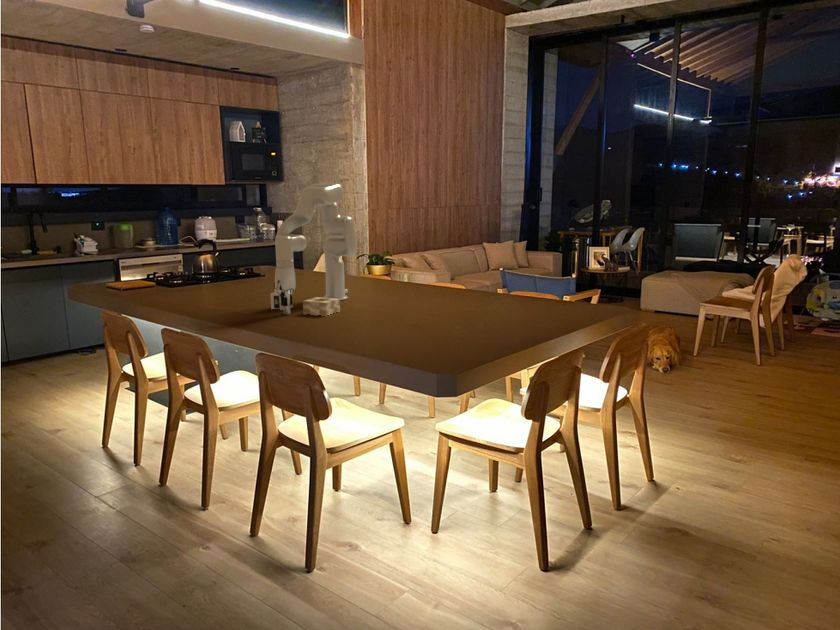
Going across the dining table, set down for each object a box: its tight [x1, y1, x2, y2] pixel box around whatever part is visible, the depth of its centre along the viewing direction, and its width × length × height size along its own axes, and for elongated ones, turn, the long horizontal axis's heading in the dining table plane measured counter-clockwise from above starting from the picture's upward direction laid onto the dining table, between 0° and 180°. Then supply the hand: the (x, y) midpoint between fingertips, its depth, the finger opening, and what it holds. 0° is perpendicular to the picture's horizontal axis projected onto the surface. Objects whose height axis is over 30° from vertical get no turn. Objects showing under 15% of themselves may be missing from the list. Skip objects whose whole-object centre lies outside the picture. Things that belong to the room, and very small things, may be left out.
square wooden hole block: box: [302, 296, 341, 317], centre depth 287 cm, size 12×12×6 cm
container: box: [270, 281, 294, 311], centre depth 297 cm, size 8×8×13 cm
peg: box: [283, 289, 292, 316], centre depth 283 cm, size 3×3×12 cm
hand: (286, 304), depth 283 cm, fingers closed on peg, 3 cm apart
